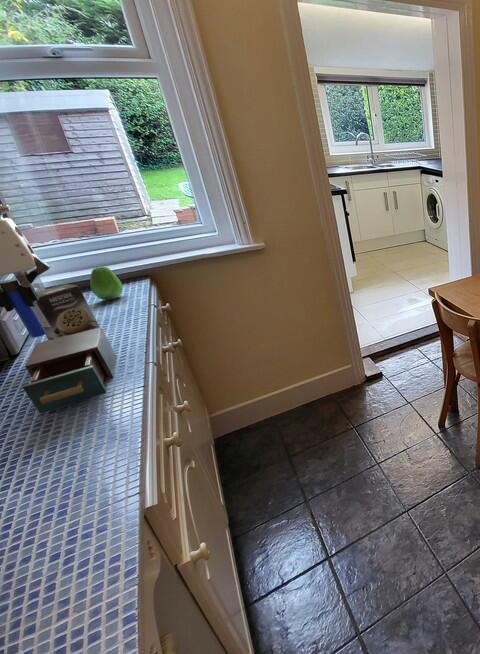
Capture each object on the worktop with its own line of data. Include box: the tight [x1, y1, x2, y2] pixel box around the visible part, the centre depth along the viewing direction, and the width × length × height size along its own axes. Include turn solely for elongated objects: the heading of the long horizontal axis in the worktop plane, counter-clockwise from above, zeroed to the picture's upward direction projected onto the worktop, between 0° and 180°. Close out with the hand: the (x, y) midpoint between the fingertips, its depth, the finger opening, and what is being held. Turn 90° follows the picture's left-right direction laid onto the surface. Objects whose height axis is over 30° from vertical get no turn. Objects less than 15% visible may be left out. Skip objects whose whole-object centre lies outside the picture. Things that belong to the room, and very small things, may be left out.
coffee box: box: [32, 283, 101, 341], centre depth 112 cm, size 9×6×16 cm
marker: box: [0, 278, 47, 338], centre depth 82 cm, size 2×2×12 cm
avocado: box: [89, 266, 123, 301], centre depth 143 cm, size 8×8×12 cm
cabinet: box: [24, 326, 117, 381], centre depth 98 cm, size 14×12×9 cm
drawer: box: [22, 351, 108, 415], centre depth 90 cm, size 17×10×7 cm, turn 40°
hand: (22, 306), depth 82 cm, fingers closed on marker, 2 cm apart
